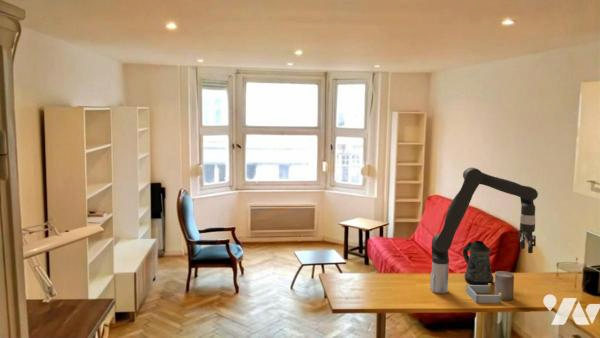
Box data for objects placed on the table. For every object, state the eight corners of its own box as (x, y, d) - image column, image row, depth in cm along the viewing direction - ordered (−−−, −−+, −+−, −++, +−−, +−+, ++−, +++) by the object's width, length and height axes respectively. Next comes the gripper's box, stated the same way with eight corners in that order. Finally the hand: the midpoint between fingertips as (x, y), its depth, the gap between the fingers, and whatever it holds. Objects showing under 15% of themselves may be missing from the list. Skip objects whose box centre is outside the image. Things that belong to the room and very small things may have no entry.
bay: (475, 302, 240) (476, 293, 240) (465, 291, 256) (466, 283, 255) (501, 302, 240) (501, 293, 239) (489, 292, 255) (490, 283, 255)
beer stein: (490, 288, 260) (492, 247, 258) (456, 282, 271) (458, 242, 268) (495, 280, 274) (497, 241, 271) (463, 274, 285) (464, 236, 282)
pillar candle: (514, 296, 249) (515, 270, 248) (511, 302, 241) (512, 275, 239) (495, 293, 254) (496, 267, 253) (492, 298, 246) (493, 272, 245)
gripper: (514, 219, 253) (513, 247, 255) (527, 225, 239) (526, 254, 241) (527, 219, 253) (526, 247, 255) (541, 225, 239) (539, 254, 241)
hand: (526, 250), depth 248 cm, fingers open, 8 cm apart
